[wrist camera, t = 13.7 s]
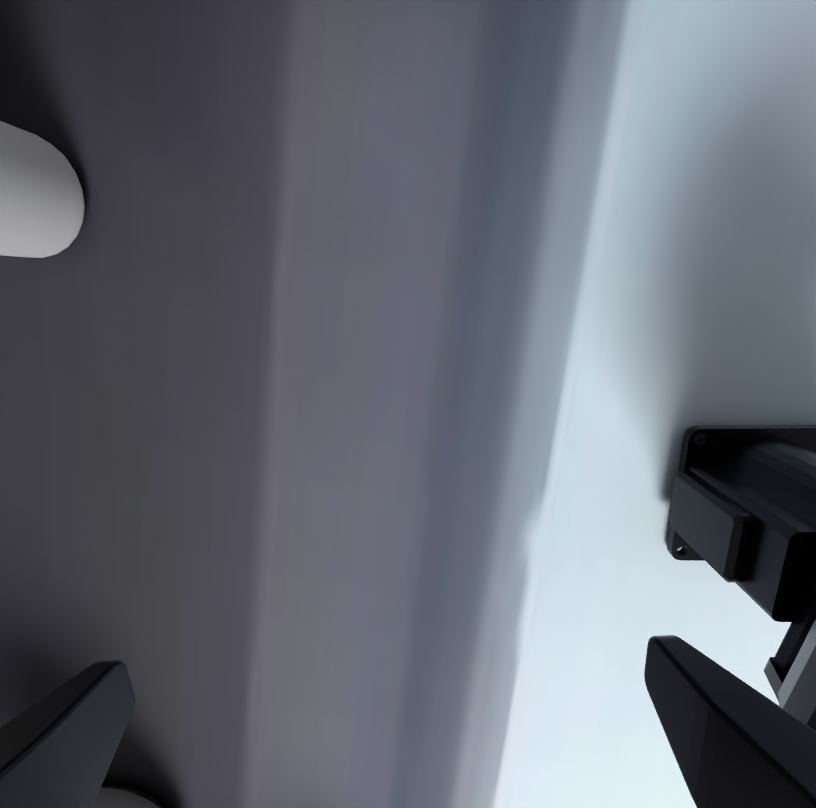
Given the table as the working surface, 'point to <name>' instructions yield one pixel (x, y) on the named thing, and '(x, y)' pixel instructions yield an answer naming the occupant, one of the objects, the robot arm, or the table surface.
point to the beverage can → (36, 196)
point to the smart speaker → (123, 798)
